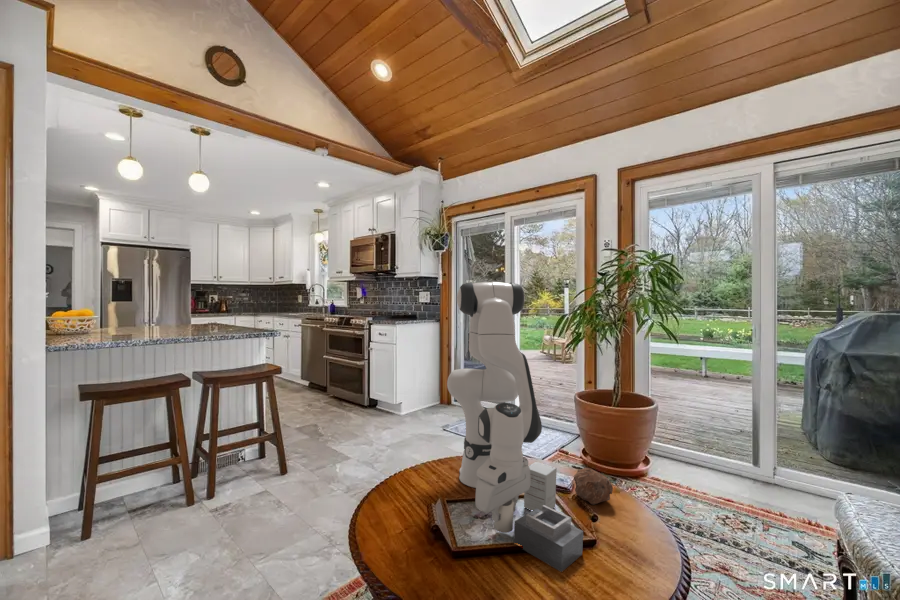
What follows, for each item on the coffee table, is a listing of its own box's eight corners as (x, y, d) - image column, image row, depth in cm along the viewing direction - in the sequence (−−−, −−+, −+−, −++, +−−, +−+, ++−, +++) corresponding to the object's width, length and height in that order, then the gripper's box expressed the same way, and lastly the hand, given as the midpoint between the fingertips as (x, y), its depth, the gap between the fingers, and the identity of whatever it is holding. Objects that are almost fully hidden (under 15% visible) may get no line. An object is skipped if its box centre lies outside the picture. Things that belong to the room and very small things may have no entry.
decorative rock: (618, 511, 123) (619, 478, 123) (582, 510, 122) (584, 478, 122) (599, 490, 136) (600, 461, 136) (567, 490, 135) (568, 461, 135)
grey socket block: (541, 526, 112) (542, 496, 113) (587, 549, 102) (589, 517, 102) (513, 544, 104) (514, 511, 104) (561, 572, 93) (562, 536, 93)
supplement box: (534, 499, 128) (535, 460, 128) (555, 508, 123) (557, 467, 123) (522, 508, 122) (524, 467, 122) (545, 517, 117) (546, 474, 117)
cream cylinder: (501, 519, 111) (502, 492, 111) (516, 527, 107) (517, 499, 107) (490, 526, 107) (491, 498, 107) (505, 535, 104) (506, 505, 104)
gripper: (518, 451, 117) (516, 497, 117) (472, 472, 102) (470, 525, 102) (537, 458, 112) (535, 506, 112) (491, 481, 98) (489, 536, 98)
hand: (503, 515), depth 107 cm, fingers closed on cream cylinder, 5 cm apart
